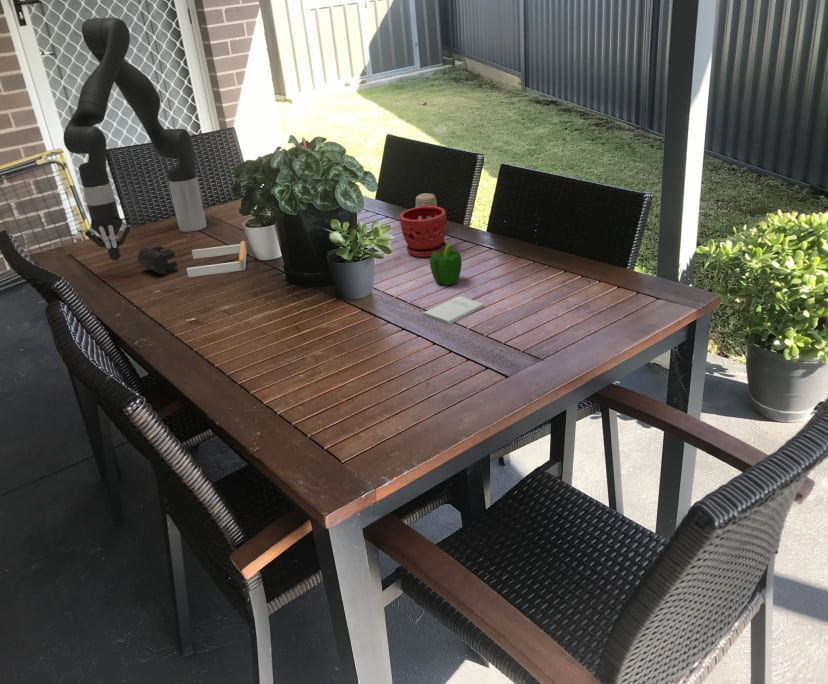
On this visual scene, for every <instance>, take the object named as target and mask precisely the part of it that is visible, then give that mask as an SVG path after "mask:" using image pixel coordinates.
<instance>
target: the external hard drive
mask: <svg viewBox="0 0 828 684" xmlns="http://www.w3.org/2000/svg"><path fill="white" fill-rule="evenodd" d="M484 305H485V304H484V303H483V302H480V301H476V300H473V299H470V298H467V297H465V296H460V295H459V296H457V297H454V298H453V299H450V300H448V301H446V302H443V303H441V304H440V305H437V306H434V307H433V308H431V309H429V310H426V311H424V312H423V313H422V314H423V315H422V316H423V317H425V318H427V319H431V320H433V321H436V322H439V323H442V324H445V325H447V326H449V325H451V324H453V323H455V322H457V321H459V320H461V319H463V318H465V317H467V316H469V315H472V314H474V313H475V312H477V311H479V310H482V309H483V308H484Z"/></svg>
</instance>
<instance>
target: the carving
mask: <svg viewBox="0 0 828 684" xmlns="http://www.w3.org/2000/svg"><path fill="white" fill-rule="evenodd" d="M423 206H434V207H438V203H437V198H436V195H435V194H433V193H425V192H424V193H421V194H418V195H417V196H416V197H415V207H414V208H416V207H423ZM436 216H437V215H435V217H436ZM429 218H432V217H430V216H427V217H426V219H429ZM418 220H422V217H421V216H419V217H418Z"/></svg>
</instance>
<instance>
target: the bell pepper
mask: <svg viewBox="0 0 828 684" xmlns="http://www.w3.org/2000/svg"><path fill="white" fill-rule="evenodd" d="M454 245H455V244H454V243H449V244H446V248H445V249H444V251H442V252H441V253H440V252H433V254H432V256H431V257H430V259H429V266H430V267H429V268H430V270H431V274H432V277H433V279H434V281H435V283H436V284H439V285H445V286H452V285H455V284H457V282H458V281H459V279H460V275H461V270H462V264H463V262H462V260H463V259H462V256H461V253H460V251H459V250H452V249H450V248H453V247H454Z"/></svg>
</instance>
